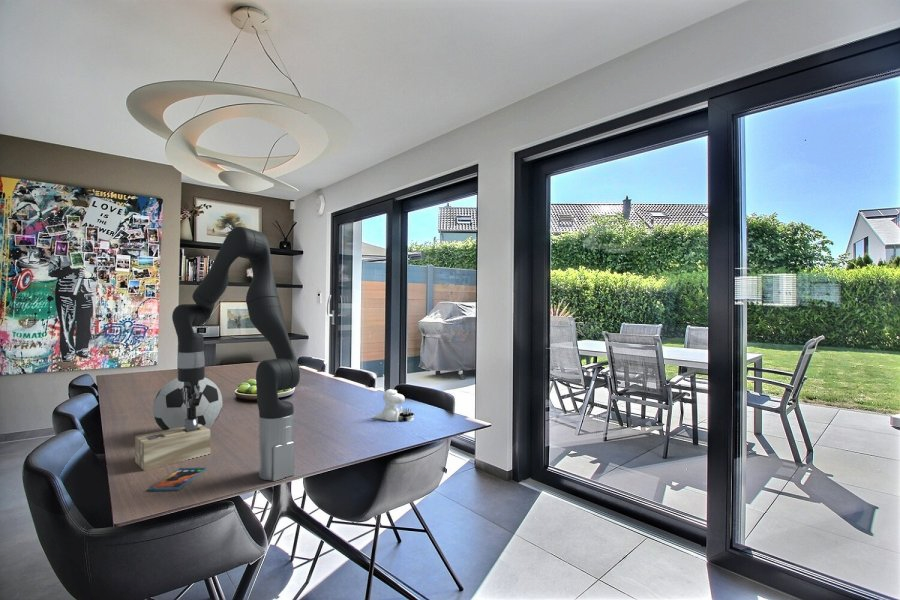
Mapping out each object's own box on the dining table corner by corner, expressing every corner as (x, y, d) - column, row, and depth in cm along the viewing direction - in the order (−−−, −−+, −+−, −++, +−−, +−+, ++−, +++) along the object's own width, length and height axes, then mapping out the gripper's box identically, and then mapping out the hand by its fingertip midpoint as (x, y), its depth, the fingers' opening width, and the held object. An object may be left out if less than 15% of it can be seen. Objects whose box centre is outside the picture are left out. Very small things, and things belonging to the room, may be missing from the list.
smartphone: (207, 467, 129) (178, 488, 114) (207, 471, 129) (178, 493, 114) (179, 466, 129) (146, 487, 114) (179, 471, 129) (146, 492, 114)
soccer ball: (191, 447, 147) (191, 382, 147) (137, 442, 152) (136, 379, 151) (235, 428, 169) (235, 371, 169) (187, 424, 173) (186, 369, 173)
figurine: (411, 422, 176) (411, 392, 176) (369, 421, 179) (368, 390, 179) (416, 417, 184) (416, 388, 184) (375, 415, 187) (375, 386, 187)
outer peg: (163, 459, 134) (163, 436, 134) (150, 462, 131) (149, 439, 131) (160, 456, 136) (160, 434, 136) (146, 459, 134) (146, 437, 133)
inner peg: (199, 440, 141) (199, 418, 141) (187, 442, 138) (186, 421, 138) (195, 437, 144) (195, 416, 144) (183, 440, 141) (183, 418, 141)
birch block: (210, 454, 141) (210, 429, 141) (144, 470, 127) (144, 443, 127) (199, 447, 147) (199, 423, 147) (135, 462, 134) (135, 436, 134)
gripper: (211, 366, 139) (211, 420, 139) (196, 362, 148) (197, 412, 148) (185, 369, 134) (185, 425, 134) (171, 364, 142) (171, 417, 143)
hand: (191, 418), depth 141 cm, fingers closed
